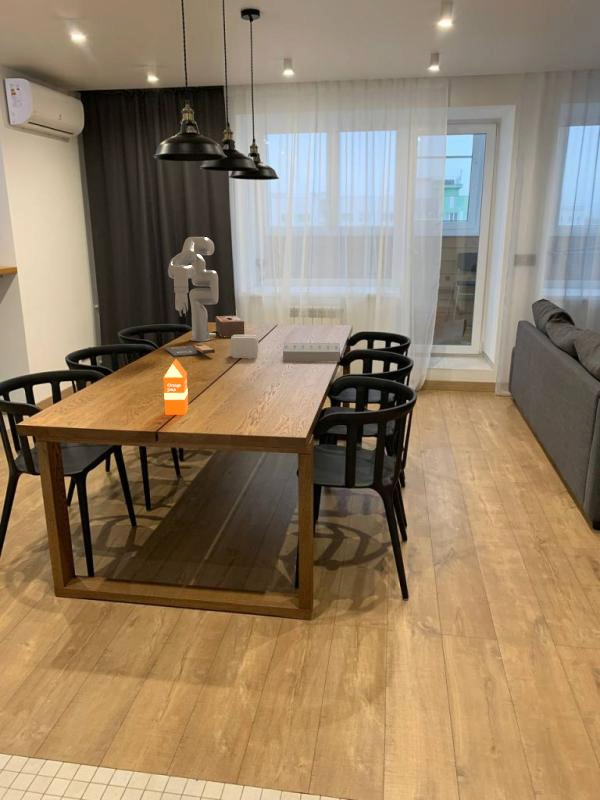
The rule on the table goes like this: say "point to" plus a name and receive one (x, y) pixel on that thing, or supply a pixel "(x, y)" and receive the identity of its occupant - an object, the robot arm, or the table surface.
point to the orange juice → (175, 390)
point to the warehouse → (311, 352)
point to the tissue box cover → (229, 325)
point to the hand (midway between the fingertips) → (182, 323)
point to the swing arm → (204, 349)
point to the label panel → (183, 351)
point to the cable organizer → (244, 346)
